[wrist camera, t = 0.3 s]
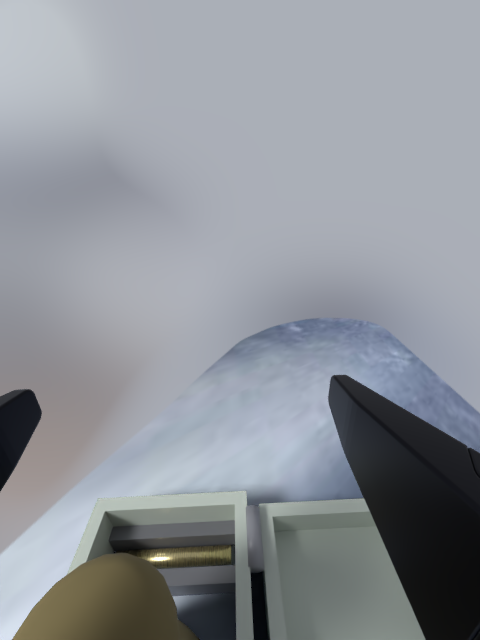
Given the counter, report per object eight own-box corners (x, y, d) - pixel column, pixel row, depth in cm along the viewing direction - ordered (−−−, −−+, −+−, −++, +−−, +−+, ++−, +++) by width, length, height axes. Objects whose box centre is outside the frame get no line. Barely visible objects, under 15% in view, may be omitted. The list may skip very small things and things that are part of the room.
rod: (231, 569, 17) (230, 552, 17) (113, 575, 17) (112, 559, 17) (231, 556, 18) (230, 540, 18) (119, 562, 18) (119, 546, 18)
